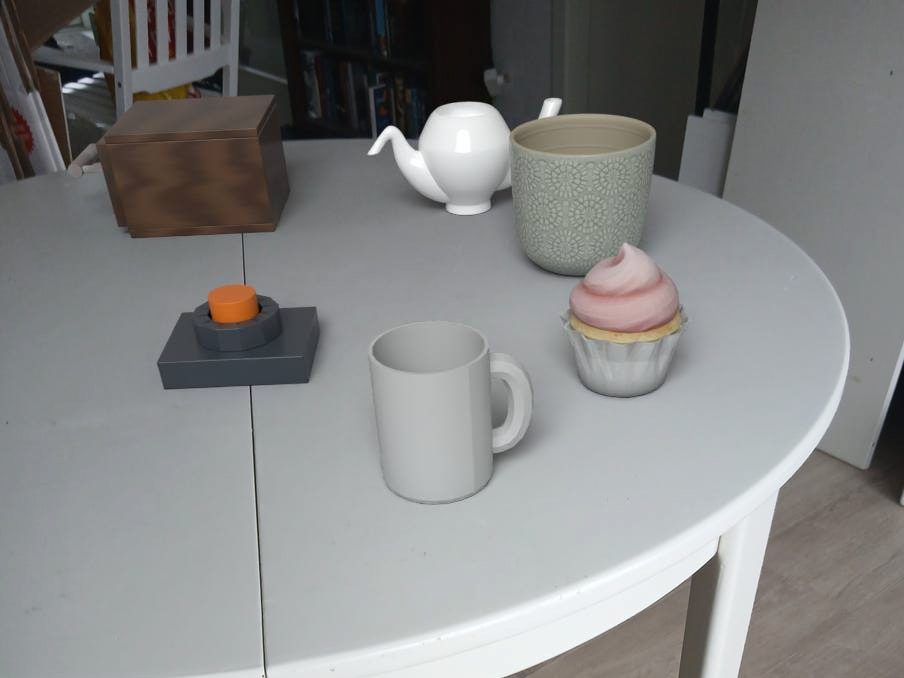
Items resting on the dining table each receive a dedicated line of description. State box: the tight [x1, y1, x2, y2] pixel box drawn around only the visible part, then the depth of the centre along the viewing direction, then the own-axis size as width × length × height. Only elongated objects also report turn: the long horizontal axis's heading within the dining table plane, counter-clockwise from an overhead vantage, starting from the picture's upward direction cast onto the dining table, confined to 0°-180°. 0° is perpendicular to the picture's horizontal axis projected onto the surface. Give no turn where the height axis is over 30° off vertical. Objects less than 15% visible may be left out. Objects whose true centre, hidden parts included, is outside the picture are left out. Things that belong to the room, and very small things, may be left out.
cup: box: [367, 320, 534, 505], centre depth 61 cm, size 7×10×9 cm
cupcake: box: [558, 243, 692, 398], centre depth 70 cm, size 9×9×10 cm
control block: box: [156, 293, 321, 390], centre depth 77 cm, size 11×9×4 cm
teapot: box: [366, 97, 563, 216], centre depth 99 cm, size 10×20×9 cm, turn 105°
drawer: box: [67, 135, 128, 228], centre depth 101 cm, size 18×11×8 cm, turn 91°
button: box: [207, 284, 259, 323], centre depth 75 cm, size 4×4×2 cm
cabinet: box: [103, 94, 291, 239], centre depth 101 cm, size 15×13×10 cm
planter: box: [509, 113, 657, 277], centre depth 87 cm, size 12×12×11 cm
